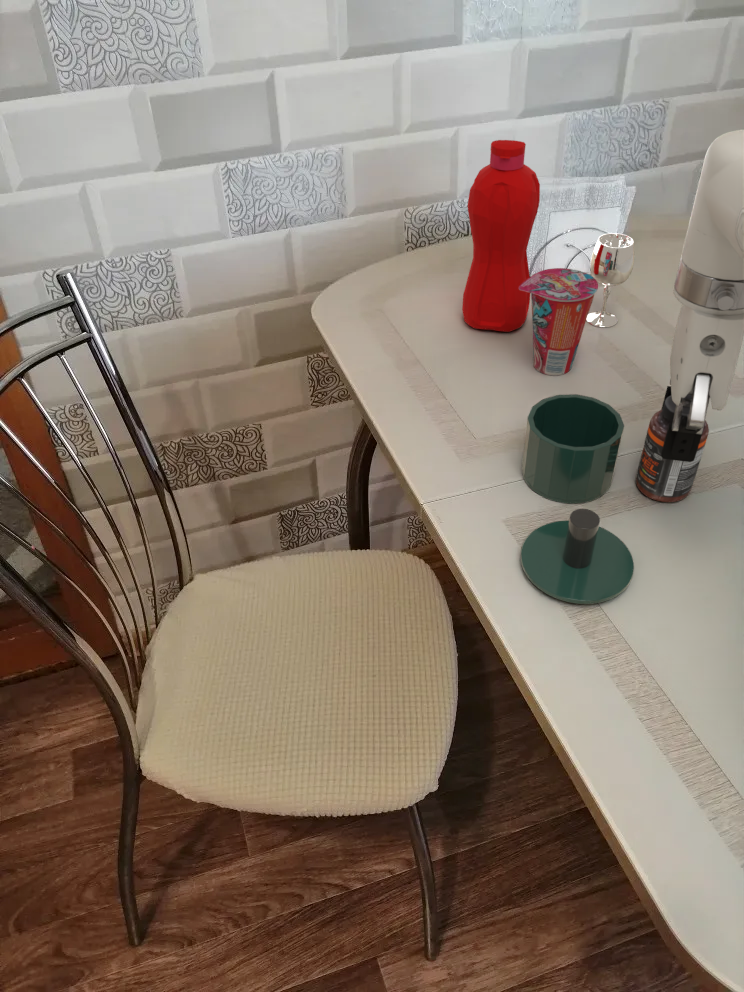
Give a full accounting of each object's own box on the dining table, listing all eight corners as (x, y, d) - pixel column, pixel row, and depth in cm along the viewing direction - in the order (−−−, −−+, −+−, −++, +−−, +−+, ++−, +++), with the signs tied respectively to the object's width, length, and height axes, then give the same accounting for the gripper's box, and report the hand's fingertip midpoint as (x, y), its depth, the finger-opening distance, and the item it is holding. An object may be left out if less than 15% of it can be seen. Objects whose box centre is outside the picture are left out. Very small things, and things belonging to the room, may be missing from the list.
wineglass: (629, 325, 114) (646, 245, 106) (593, 332, 113) (607, 252, 105) (609, 307, 118) (624, 228, 110) (574, 313, 117) (586, 235, 109)
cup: (553, 341, 111) (564, 261, 103) (597, 368, 106) (613, 286, 98) (502, 363, 108) (509, 281, 100) (545, 392, 102) (556, 308, 94)
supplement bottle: (623, 476, 90) (643, 393, 82) (669, 465, 91) (692, 381, 83) (653, 510, 85) (676, 425, 78) (701, 497, 87) (728, 413, 79)
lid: (617, 526, 84) (629, 479, 79) (644, 607, 76) (658, 559, 71) (513, 529, 84) (518, 482, 80) (528, 609, 76) (535, 562, 72)
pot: (601, 445, 94) (612, 393, 89) (620, 502, 87) (633, 448, 82) (516, 447, 94) (522, 395, 89) (528, 504, 87) (535, 451, 82)
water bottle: (532, 300, 120) (551, 126, 104) (522, 337, 112) (541, 156, 96) (471, 294, 122) (480, 123, 106) (458, 330, 115) (465, 151, 98)
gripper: (776, 333, 65) (719, 497, 77) (754, 242, 77) (708, 396, 89) (679, 324, 66) (638, 486, 78) (673, 237, 79) (639, 388, 91)
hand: (676, 437), depth 84 cm, fingers closed on supplement bottle, 6 cm apart
